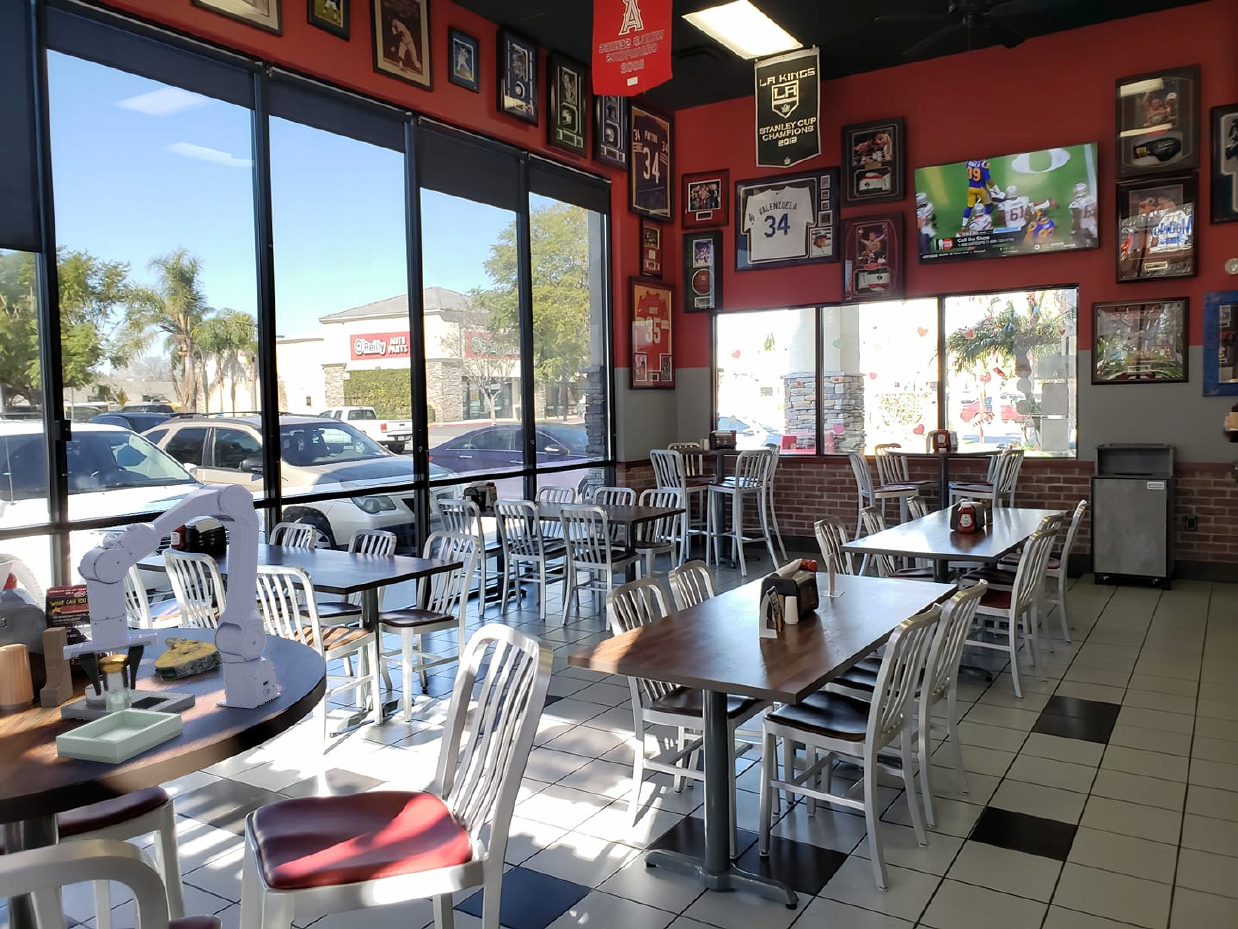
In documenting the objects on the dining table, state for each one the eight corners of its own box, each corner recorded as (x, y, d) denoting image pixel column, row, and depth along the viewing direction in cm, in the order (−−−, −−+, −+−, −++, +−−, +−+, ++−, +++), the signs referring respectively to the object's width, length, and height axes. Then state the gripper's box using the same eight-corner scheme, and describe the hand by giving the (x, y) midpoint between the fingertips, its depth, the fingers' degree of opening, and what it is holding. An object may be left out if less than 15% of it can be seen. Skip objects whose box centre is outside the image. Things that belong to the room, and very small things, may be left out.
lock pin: (141, 703, 166) (135, 657, 164) (117, 715, 162) (111, 668, 160) (120, 698, 168) (114, 652, 166) (96, 710, 163) (90, 664, 161)
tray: (182, 732, 168) (181, 714, 168) (117, 764, 155) (115, 744, 155) (125, 726, 173) (123, 708, 173) (57, 756, 160) (55, 737, 160)
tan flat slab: (210, 619, 228) (222, 647, 202) (216, 641, 229) (229, 672, 203) (148, 638, 222) (152, 670, 195) (154, 661, 223) (159, 695, 196)
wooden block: (57, 697, 193) (49, 627, 192) (73, 696, 193) (66, 626, 192) (41, 708, 187) (32, 636, 185) (58, 706, 187) (50, 635, 186)
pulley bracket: (195, 704, 184) (192, 675, 183) (146, 726, 173) (142, 695, 172) (113, 696, 191) (110, 668, 191) (61, 717, 180) (58, 687, 180)
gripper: (154, 605, 169) (161, 677, 170) (63, 618, 162) (71, 692, 164) (154, 613, 162) (161, 688, 164) (58, 626, 156) (67, 704, 157)
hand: (116, 691), depth 163 cm, fingers closed on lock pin, 5 cm apart
